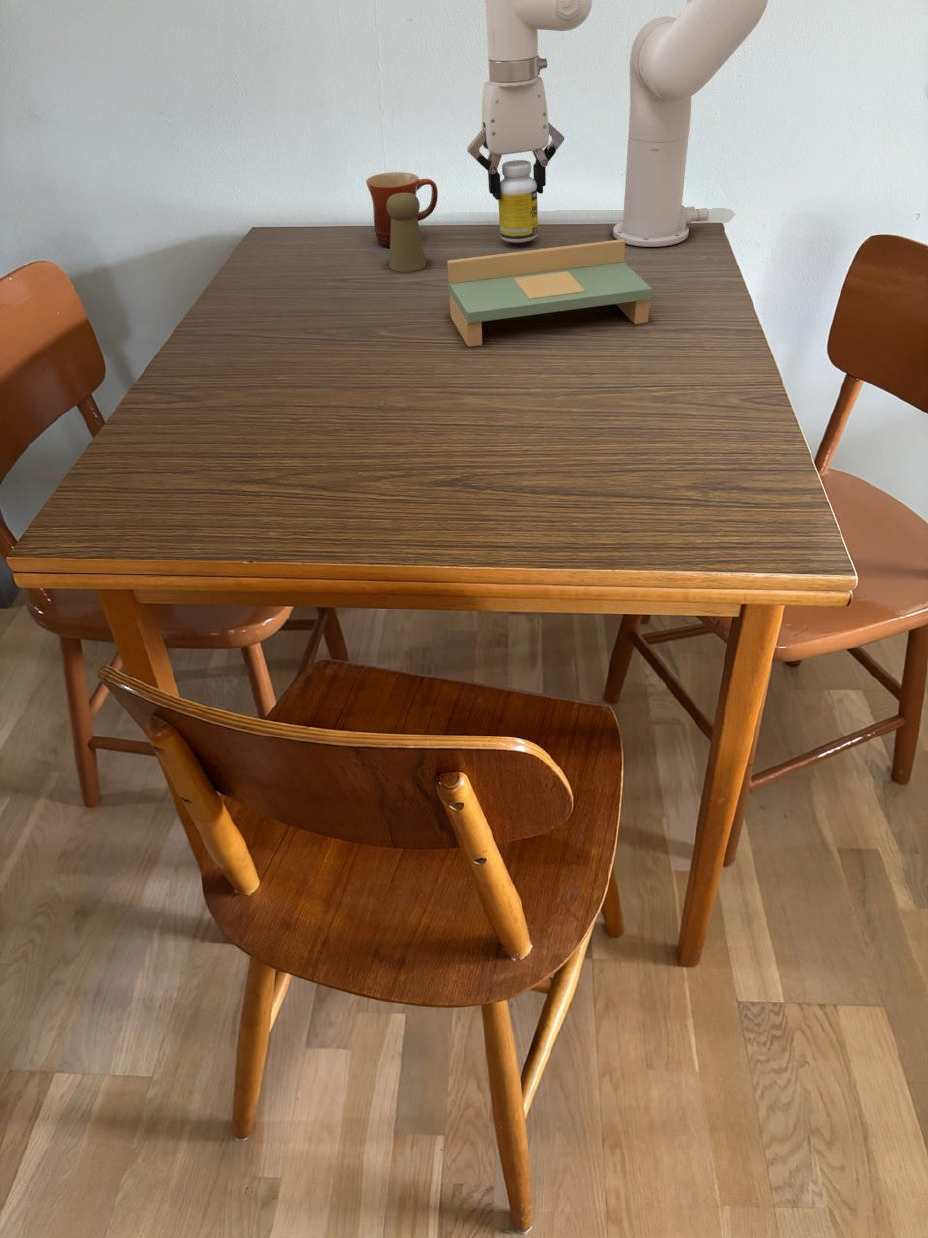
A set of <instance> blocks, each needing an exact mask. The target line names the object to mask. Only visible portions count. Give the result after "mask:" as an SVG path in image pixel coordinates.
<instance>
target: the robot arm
mask: <svg viewBox="0 0 928 1238" xmlns="http://www.w3.org/2000/svg"><path fill="white" fill-rule="evenodd" d="M768 2H769V0H686V3H687V5H686V6H685V7H684V9H683V10H682V11H681V12H680V13H679V15H678V16H677V17H674V16H667V15H666V16H665V15H664V16H659V17H656V18H653V19H652V20H650V21H648V22H647V23H646V24H644V26H643V27H642V28H640V30H639V31H638V33H637V34H636V37H635V38H634V40H633V43H632V46H631V50H630V56H629V116H628V117H629V120H628V135H627V148H626V149H627V150H626V164H625V165H626V166H625V167H626V168H625V182H624V183H625V184H624V198H623V199H624V200H623V216H622V221H620V222H618V223H616V224H615V225H614V226H613V228H612V235H613V238H614V239H615V240H620V239H623V240H624V241H625V245H629V246H636V247H642V248H659V247H667V246H672V245H673V246H674V245H677V244H680V243H682V242H683V241H685V240H686V239H687V238H688V237H689V231H690V229H689V226H687V225H690V224H691V222H703V221H707V220H709V215H710V214H709V209H708V208H707V207H704V208H695V206H693V205H692V206H684V205H683V196H684V187H685V179H686V168H687V167H686V166H687V158H688V146H689V138H690V137H689V136H690V128H691V117H692V97H693V96H694V95H696V94H697V93H698V92H700V90H702V89H703V88H704V87H705V86H706V85H707V84H708V83H709V81H710V80H711V79H712V78H713V77H714V76H715V75H716V73H718V72H719V70H720V69H722V67H723V66H724V64H726V62H727V61H728V60H729V58H731V56H732V55H733V54H734V53H735V52H736V50H737V49H739V48H740V46H741V45H742V44H743V43H744V41H745V40H746V39H747V38H748V37H749V36H750V34H751V33H752V32H753V31H754V29H756V26H757V25H758V24H759V22H760V20H761V18H762V17H763V15H764V13H765V11H766V9H767V7H768V6H767V5H768ZM592 6H593V0H485V14H486V15H485V17H486V35H487V37H486V38H487V58H488V59H487V60H488V78H489V80H488V81H485V82H484V83H483V89H482V101H481V130H480V131H479V132H478V133H477V135H476V137H475V138H473V140H472V141H471V142H470V144H469V145H468V146H467V149H466V152H468V154H470V155H471V157H472V158H473V159H474V160H476V162H477V163H478V164H479V165H481V166H482V167H483V168H484V169H485V170H486V171H487V179H488V192H489V193H490V195H492V197H493V198H494V199H495V200H496V201H498V200H499V199H500V198H501V186H500V182H501V174H500V173H499V170H498V169H499V165H500V162H501V159H502V156H503V155H512V154H521V153H528V152H532V155H533V156H534V159H535V162H534V163H533V165H532V166H533V167H532V171H533V173H532V174H533V177H532V178H533V179H534V180H535V181H536V184H537V194H539V195H541V194H543V193H544V187H545V186H546V185H547V180H546V179H547V177H546V176H547V174H546V173H547V172H546V167H547V166H548V165H549V162H550V161H551V159H552V158H553V157H554V155H555V154H556V152H557V150H558V149H559V148H560V147H561V145H562V144H563V142H564V141H565V136H564V135H563V134H562V133H561V132H560V131H559V130H558V129H556V128H555V127H554V126H553V124H551V123H550V122H549V117H548V116H549V114H548V103H547V98H546V91H545V85H544V80H543V78H542V76H540V74H541V73H540V72H541V71H542V70H543V69H547V68H548V60H547V58H546V57H545V58H542V57H540V55H539V43H538V41H539V35H538V34H539V33H538V30H542V31H543V30H544V31H557V32H568V31H571V30H575V29H577V28H578V27H579V26H582V24H583V23H584V22H585V21H586V20H587V18H588V16H589V15H590V12H591V11H592V10H591V9H592ZM550 137H551V141H550V142H549V139H550ZM482 147H483V148H484V149H485V150H487V151H488V153H489V154H488V156H487V158H486V157H485V155H483V154H482V152H481V151H480V149H481V148H482Z"/></svg>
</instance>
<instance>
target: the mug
mask: <svg viewBox="0 0 928 1238" xmlns="http://www.w3.org/2000/svg"><path fill="white" fill-rule="evenodd" d="M365 183H366V186H367V188H368V191H369V194H370V198H371V203H372V213H373V214H372V215H373V225H374V226H373V227H374V232H375V237H376V241H377V243H378V244H380V245H381V246H382V247H384V248H389V249H390V236H391V217H390V215H389V214H388V211H387V206H386V205H387V201H388V198H389V197H390V196H392V195H393V194H397V193H412V194H414V195H416V196H417V192H418V191H419V190H420V189H421V188H422V187H423V186H427V185H429V186H430V188H431V197H430V203H429V204H428V206H427V207H426V208H425V209H424V210H421V211H419V213H418V215H417V220H418V222H419V221H422V220H425V219H426V218H427V217H429V216H431V214H432V213H434V211H435V209H436V206H437V203H438V197H439V194H438V193H439V192H438V185H437V184H436V182H435V180H432V179H430V178H419V176H418V175H417V174H414V173H410V172H404V171H403V172H400V171H399V172H398V171H397V172H384V173H379V174H374V175H372V176H370V177H368V178H366V181H365Z"/></svg>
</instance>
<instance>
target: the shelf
mask: <svg viewBox="0 0 928 1238" xmlns="http://www.w3.org/2000/svg"><path fill="white" fill-rule="evenodd" d="M625 251H626V244H625V241H624V240H623V239H620V240H617V239H614V240H605V241H597V242H588V243H579V244H572V245H563V246H558V247H557V246H556V247H549V248H538V249H531V250H523V251H514V252H507V253H498V254H490V255H489V254H488V255H482V256H474V257H466V258H457V259H450V260H449V259H448V260H447V261H446V263H447V282H448V284H447V285H448V293H449V309H450V318H451V320H452V321H453V323H454V325H455V328H457V330H458V332H459V334H460V335H461V337H462V339H463V340H464V342H465V344H466V346H467V347H468V348H470V347H478V346H483V327H482V326H483V324H482V323H483V322H488V321H489V322H490V321H497V320H504V319H511V318H519V317H526V316H535V315H541V314H551V313H558V312H565V311H572V310H573V311H574V310H579V309H587V308H595V307H602V306H609V305H616V306H617V308H619V309H620V311H621V312H622V313H623V314H624V315H625V316H626V317H627V318H628V319H629V320H630V321H631V322H632V323H633V324H634V325H640V324H646V323H649V316H650V315H649V314H650V303H651V300H652V298H653V297H652V296H653V288H652V287H651V286H650V285H649V284H648V283H647V282H646V281H645V280H644V279H642V277H641V276H639V275H638V274H637V273H636V272H635V271H634V270H633V269H632V268H630V266H628V264H627V263H625Z"/></svg>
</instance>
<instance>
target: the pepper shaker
mask: <svg viewBox="0 0 928 1238" xmlns="http://www.w3.org/2000/svg"><path fill="white" fill-rule="evenodd" d="M386 206H387V211H388V214H389V215H390V217H391V236H390V248H389V265H388V267H389V269H390V270H392V271H394V272H400V273H410V272H417V271H420V270H422V269H424V268H426V266H427V261H426V260H427V259H426V256H425V251H424V250H425V249H424V245H423V240H422V235H421V231H420V225H419V221H418V220H417V215H418V213H419V212H420V207H421V206H420V201H419V198H418V197H417V194H416V195H414V194H412V193H397V194H393V195H392V196H390V197H389V198H388V201H387V205H386Z"/></svg>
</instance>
